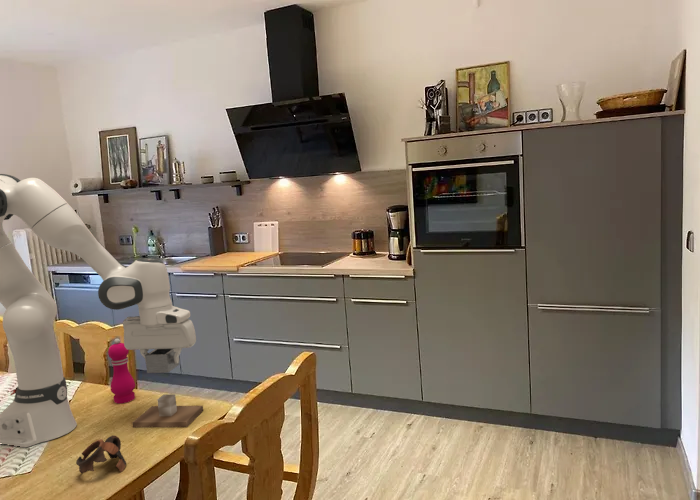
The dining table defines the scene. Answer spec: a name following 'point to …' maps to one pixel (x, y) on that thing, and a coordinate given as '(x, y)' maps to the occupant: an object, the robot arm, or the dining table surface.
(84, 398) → the dining table surface
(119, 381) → the pepper mill
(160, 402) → the post stand
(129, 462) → the dining table surface
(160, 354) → the grey open box
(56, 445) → the dining table surface
